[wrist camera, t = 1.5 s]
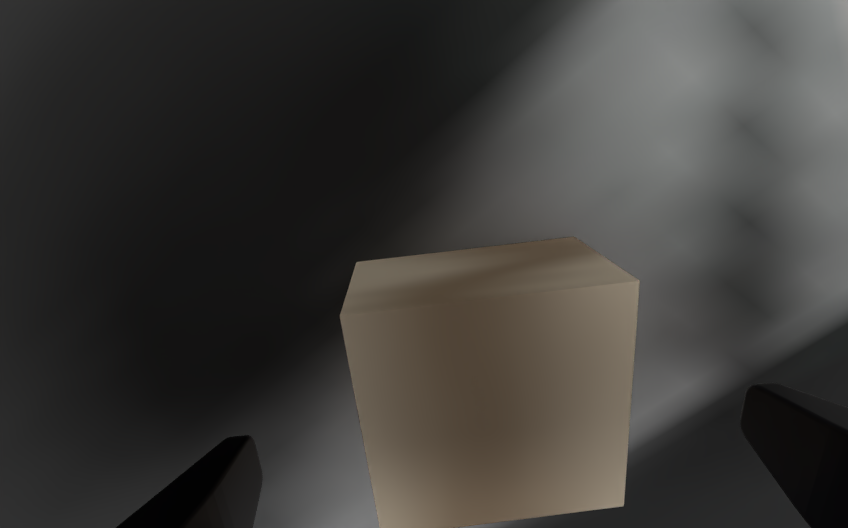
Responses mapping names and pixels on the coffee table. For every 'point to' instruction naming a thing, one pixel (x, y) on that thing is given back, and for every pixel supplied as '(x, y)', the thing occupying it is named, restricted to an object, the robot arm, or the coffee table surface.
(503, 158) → the coffee table surface
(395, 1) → the coffee table surface
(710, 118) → the coffee table surface
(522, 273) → the maple block
